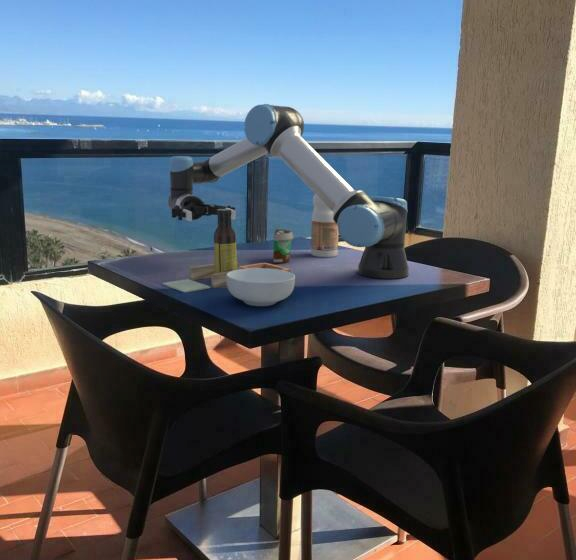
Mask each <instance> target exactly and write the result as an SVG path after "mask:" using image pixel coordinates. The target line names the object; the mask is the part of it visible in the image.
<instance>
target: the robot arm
mask: <svg viewBox="0 0 576 560" xmlns="http://www.w3.org/2000/svg"><path fill="white" fill-rule="evenodd" d="M243 125H244V134H245V138H243V139H242V140H240V141H238V142H237V143H233V144H232V145H231V146H228V147H227V148H225V149H224V150H221V151H220V152H218V153H216V154H215V155H213V156H211V157H209V158H207V159H205V160H202V161H194V160H193V157H191V156H187V155H186V156H183V155H178V156H177V155H176V156H175V155H174V156H171V157H170V159H169V161H170V162H169V168H168V169H169V186H170V187H169V188H170V189H169V195H168V197H167V200H166V204H167V206H168V209H170V210H171V218H173V219H175V218H177V219H178V221H183V220H185V221H188V222H192V221H195V220H196V221H197V220H199V219H200V218H201V217H203V216H207V217H209V216H212V215H213V216H218V215H217V209H231V212H232V214H231V220H233V221H234V220H236V219H237V218H236V217H237V216H236V214H237V213H236V212H237V210H236V207H234V206H231V205H227V206H226V205H219V204H218V205H217V204H209V203H205V202H204V201H203V200H202V199H201V198H200V197H198V196H195V195H194V194H193V193H194V185H196V184H197V185H198V184H199V185H200V184H213V183H217V182H219V181H220V180H221V179H222V178H223V176H226V175H227V174H229V173H231V172H233V171H235V170H237V169H239V168H240V167H243V166H246V165H247V164H248V163H251V162H252V161H254V160H257V159H259V158H261V157H263V156H264V155H267V154H269V155H270V156H271V157H272V158H275V159H276V158H280V159H281V160H282V161H283V162H284V163H285V164H286V165H287V166H288V167H289V168H290V169H291V170H292V171H293V172H294V173H295V174H296V175H297V176H298V177H299V179H301V181H302V182H304V184H305V185H306V186H307V187H308V188H309V189H310V190H311V191H312V192H313V193H314V194H316V195H317V196H318V197H319V198H320V199H321V200H322V201H323V202H324V203H325V204H326V205H327V206H328V207H329V209H330V210H331V211H332V212H333V220H334V221H335V222H336V224H337V226H338V232H339V236H340V238H341V239H342V241H344V243H347V244H348V245H349V246H352V247H355V248H364V249H363V252H362V256H361V258H360V261H359V263H358V266H357V267H358V269H357V270H358V271H357V273H359V274H360V275H362V276H364V277H369V278H375V279H376V278H377V279H389V280H390V279H392V280H393V279H402V278H406V277H408V276H409V273H410V272H409V271H410V267H409V264H408V259H407V255H406V251H405V244H406V243H405V242H406V229H407V219H408V218H407V217H408V212H409V210H408V202H407V200H405V199H403V198H399V197H398V198H396V197H387V196H377V195H376V196H374V195H373V196H372V195H370V196H369V195H368V194H367V193H365V191H364V190H355V189H354V188H353V187H352V186H351V185H350V184H349V183H348V182H347V181H346V180H345V179H344V178H343V176H341V175H340V174H339V173H338V172H337V171H336V170H335V169H334V168H333V167H332V166H331V165H330V164H329V163H328V162H327V161H326V160H325V159H324V158H323V157H322V156H321V155H320V154H319V152H317V151H316V150H315V149H314V148H313V147H312V146H311V145H310V144H309V143H308V142H307V141H306V140H305V138H303V137H302V136H303V135H304V131H305V123H304V119H303V116H302V115H301V113H300V112H299V111H298V110H297V109H295V108H293V107H291V106H285V105H284V106H283V105H274V104H268V103H263V104H257V105H254V106H253V107H252V108H251V109H250V110H249V111H248V113H247V114H246V116H245V119H244V124H243Z"/></svg>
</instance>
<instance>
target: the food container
mask: <svg viewBox="0 0 576 560" xmlns="http://www.w3.org/2000/svg"><path fill="white" fill-rule="evenodd" d="M274 230H275V231H274V233H273V254H272V255H273V259H272V260H273V264H272V265H286V264H288V263H290V259H291V258H290V257H291V256H290V255H291V248H292V246H291V245H292V240H293V239H294V234H293V232H292V230H290V229H286V228H275V229H274Z"/></svg>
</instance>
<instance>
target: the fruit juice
mask: <svg viewBox="0 0 576 560" xmlns="http://www.w3.org/2000/svg"><path fill="white" fill-rule="evenodd" d="M312 204H313V210H312V213H311V228H310V229H311V230H310V231H311V232H310V238H311V239H310V255H311V256H314V257H318V258H334V257H337V256H338V252H339V236H340V234H339V232H338V226H337V224H336V222H335V221H334V220H333V212H332V211H331V210H330V209H329V207H328V206H327V205H326V204H325V203H324V202H323V201H322V200H321V199H320V198H319V197H318V196H317V195H316V194H315V193H314V194H313V197H312Z"/></svg>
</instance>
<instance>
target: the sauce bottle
mask: <svg viewBox="0 0 576 560" xmlns="http://www.w3.org/2000/svg"><path fill="white" fill-rule="evenodd" d="M231 214H232V212H231V209H217V215H216V216H217V227H216V229H215V231H214V232H213V254H214V255H213V258H214V259H213V260H214V263H213V264H214V265H215V273H221V272H228V271H234V270H237V261H238V260H237V259H238V257H237V256H238V255H237V238H236V232H235V230H234V228H233V227H232V219H231Z"/></svg>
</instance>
